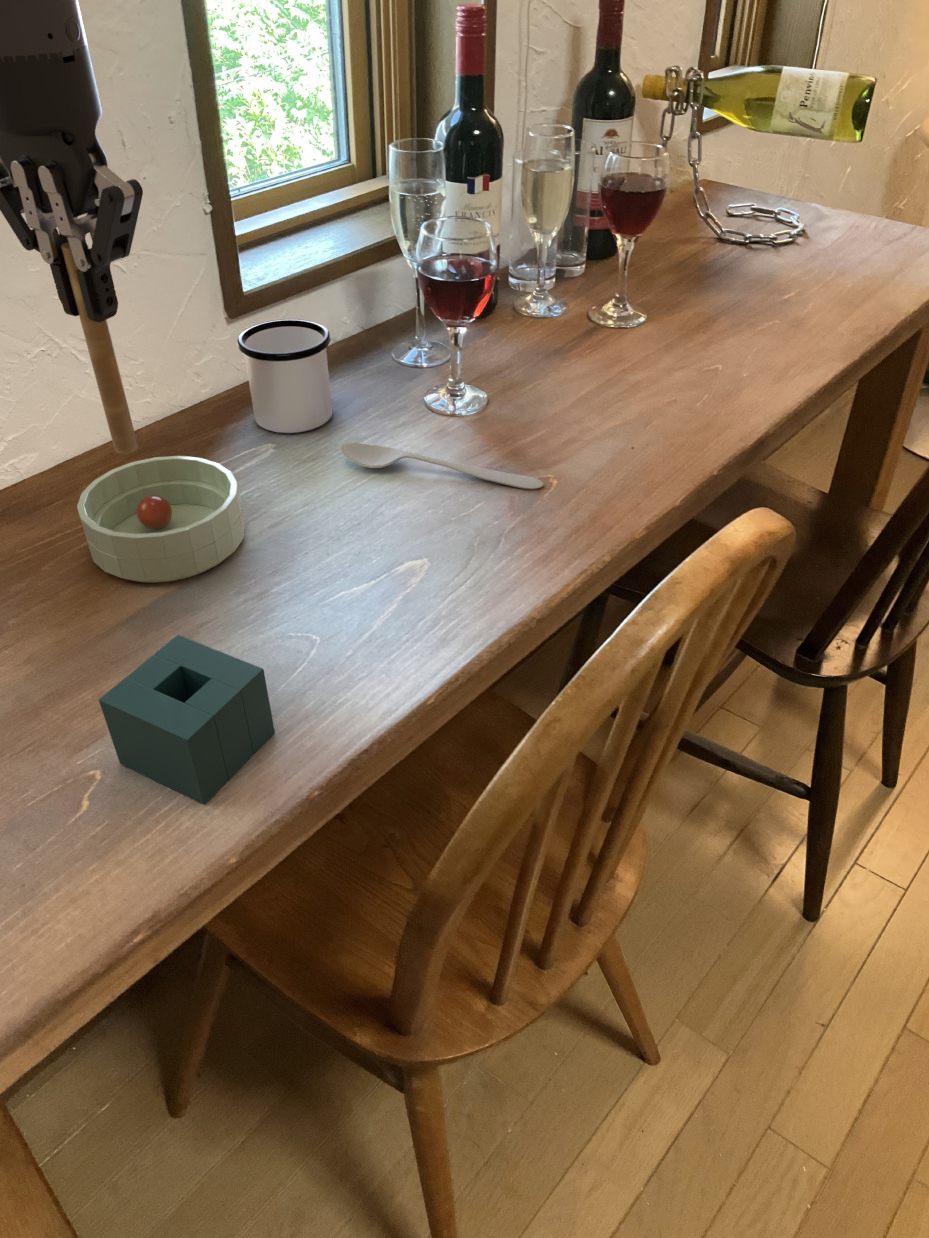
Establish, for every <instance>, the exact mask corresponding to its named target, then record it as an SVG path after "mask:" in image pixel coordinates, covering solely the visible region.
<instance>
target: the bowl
mask: <svg viewBox="0 0 929 1238" xmlns="http://www.w3.org/2000/svg"><path fill="white" fill-rule="evenodd" d="M151 495H156V496H160V497H162V498H164V499H166V500H167V501H168V502H169V504H170V506H171V508H172V517H171V520H170V522H169V523H168V524H167V525H166V526H165V527H163V528H160V529H150V528H147V527H145V526H144V525H142V524H141V522H140V521H139V519H138V517H137V507H138V504H139V503H140V501H141V500H142V499H144V498H145V497H147V496H151ZM76 509H77V513H78V516H79V519H80V522H81V526H82V528H83V532H84V535H85V539H86V542H87V545H88V549H89V552H90V555H91V559H92V561H93V563H94V564H95V565H97V566H98V568H100V570H102V571H103V572H105V573H107V574H110V575H112V576H115V577H117V578H119V579H123V580H128V581H132V582H139V583H167V582H174V581H179V580H184V579H187V578H191V577H195V576H198V575H200V574H202V573H204V572H206V571H209V570H211V569H213V568H214V567H216V566H217V565H219V564H221V563H223V561H225V560H226V559H227V558H228V557H230V556H231V555H232V554H233V553H235V552H236V550H237V549H238V547H239V545H240V544H241V543H242V541H243V539H245V529H246V523H245V518H244V512H243V505H242V501H241V496H240V488H239V484H238V481H237V479H236V478H235V476H234V473H233V472H232V471H231V470H230V469H228V468H226V467H225V466H223V465H222V464H220V463H219V462H215V461H212V460H209V459H207V458H203V457H197V456H188V455H187V456H186V455H169V456H156V457H150V458H146V459H145V458H144V459H141V460H136V461H131V462H128V463H125V464H124V465H121V466H119V467H115V468H113V469H111V470H108V471H107V472H105V473H104V474H102V475H101V476H99V477H97V478H96V479H94V480H93V481H92V482H91V483H90V484H88V486H87V487H86V488H85V489H84V490H83V491H82V492H81V494H80V497H79V499H78V502H77V504H76Z"/></svg>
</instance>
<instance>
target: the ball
mask: <svg viewBox="0 0 929 1238" xmlns="http://www.w3.org/2000/svg"><path fill="white" fill-rule="evenodd" d="M137 517H138V519H139V521H140V522H141V524H142V525H144V526H145V527H147V528H150V529H160V528H163V527H165V526H166V525H167V524H168V523H169V522H170V520H171V517H172V508H171V506H170V504H169V502H168V501H167V500H166V499H164V498H162V497H160V496H156V495H151V496H147V497H145V498H144V499H142V500H141V501H140V503H139V504H138V507H137Z"/></svg>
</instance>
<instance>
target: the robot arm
mask: <svg viewBox="0 0 929 1238" xmlns="http://www.w3.org/2000/svg"><path fill="white" fill-rule="evenodd" d="M80 8H81V7H80V4H79V0H0V212H1V214H2V215H3V217H4V219H5V220H6V222H7V223H8V225H9V227H10V228H11V230H12V231H13V233H14V235H15V237H16V238H17V239H18V241H19V243H20V244H21V245H22V247H23V248H24V249H25V250H26V251H29V252H31V251H33V250H35V251H36V252H38V253H39V254H40V256H41V258H42V260H43V261H44V262H45V263H46V264H48V265H49V267H50V271H51V274H52V279H53V281H54V285H55V290H56V293H57V297H58V299H59V301H60V303H61V305H62V308H63V311H64V313H65V314H66V315H67V316H68V315H69V316H73V317H79V313H78V309H77V305H76V302H75V298H74V294H73V290H72V286H71V283H70V279H69V275H68V271H67V268H66V264H65V260H64V256H63V252H62V249H61V245H62V244H64V243H67V242H69V245H70V248H71V251H72V255H73V258H74V261H75V264H76V266H77V267H78V269H79V270H76V273H77V277H78V281H79V285H80V289H81V293H82V297H83V300H84V304H85V308H86V312H87V316H88V318H89V319H90V320H92V321H96V322H102V321H104V320H106V319H107V320H109V319H111V318H113V317H115V316H116V315H117V312H118V308H119V300H118V297H117V292H116V289H115V283H114V280H113V275H112V271H111V263H112V262H116V261H118V260H120V259H124V258H126V257H129V256H130V254H131V250H132V244H133V240H134V237H135V231H136V228H137V227H136V226H137V222H138V218H139V213H140V209H141V204H142V200H143V195H144V190H143V187H142V184H141V183H140V182H139V180H137V179H135V178H132V179H128V180H124V179H122V178H121V177H120V176H119V175H117V174H116V173H115V172H113V170H111V169H110V168H109V161H108V157H107V155H106V153H105V151H104V150H103V148H102V146H101V144H100V142H99V139H98V137H97V133H96V132H97V126H98V124H99V122H100V120H101V118H102V116H103V109H102V104H101V100H100V94H99V90H98V86H97V82H96V76H95V72H94V67H93V63H92V59H91V53H90V50H89V49H90V48H89V45H88V39H87V36H86V35H87V34H86V32H85V31H86V30H85V27H84V23H83V18H82V13H81V9H80ZM22 214H24V215H25V218H24V216H23V215H22ZM83 215H84V216H83ZM80 216H81V217H80ZM78 217H79V218H78ZM25 219H26V220H25ZM87 234H89V235H90V238H91V242H92V243H91V248H90V247H89V249H88V246H89V245H88V246H87V243H88V242H87V240H86V235H87ZM86 242H87V243H86Z"/></svg>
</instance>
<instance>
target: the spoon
mask: <svg viewBox="0 0 929 1238" xmlns="http://www.w3.org/2000/svg"><path fill="white" fill-rule="evenodd" d="M340 451H341V453H342V455H343V456H344V457H345V458H347V459H348V460H349V461H351V462H352V463H355V464H356V465H359V466H361V467H365V468H370V469H377V468H378V469H382V468H385V467H389V466H390V465H392V464H394V463H396V462H398V461H400V460H402V459H412V460H417V461H422V462H424V463H429V464H434V465H437V466H441V467H445V468H448V469H451V470H454V471H457V472H459V473H462V474H466V475H468V476H472V477H475V478H478V479H481V480H485V481H489V482H492V483H497V484H501V485H505V486H508V487H514V488H517V489H521V490H538V489H542V488H543V487H544V482H543V481H542V480H540V479H539V478H536V477H532V476H528V475H522V474H516V473H509V472H504V471H500V470H495V469H489V468H484V467H479V466H474V465H470V464H465V463H464V464H463V463H459V462H456V461H455V462H454V461H449V460H445V459H441V458H440V459H439V458H435V457H432V456H431V457H430V456H427V455H423V454H419V453H416V452H412V451H408V450H402V449H399V448H396V447H395V448H394V447H389V446H381V445H374V444H367V443H362V442H361V443H360V442H347V443H344V444H341V446H340Z"/></svg>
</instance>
